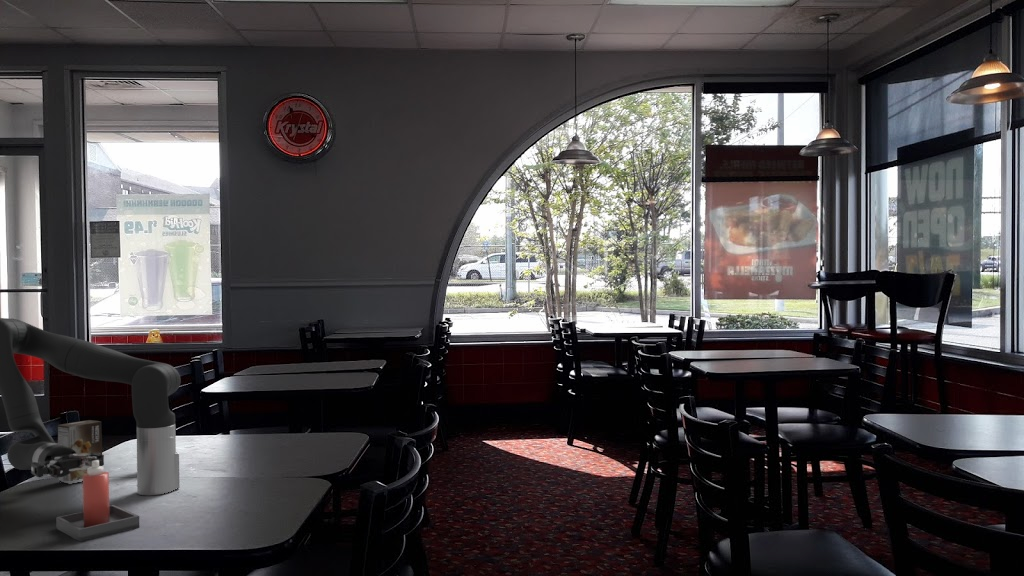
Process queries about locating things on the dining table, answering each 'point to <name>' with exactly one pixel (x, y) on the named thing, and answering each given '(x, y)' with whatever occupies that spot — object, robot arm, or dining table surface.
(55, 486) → the dining table surface
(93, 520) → the bottle
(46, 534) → the dining table surface
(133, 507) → the dining table surface
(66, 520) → the tray
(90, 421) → the coffee box
